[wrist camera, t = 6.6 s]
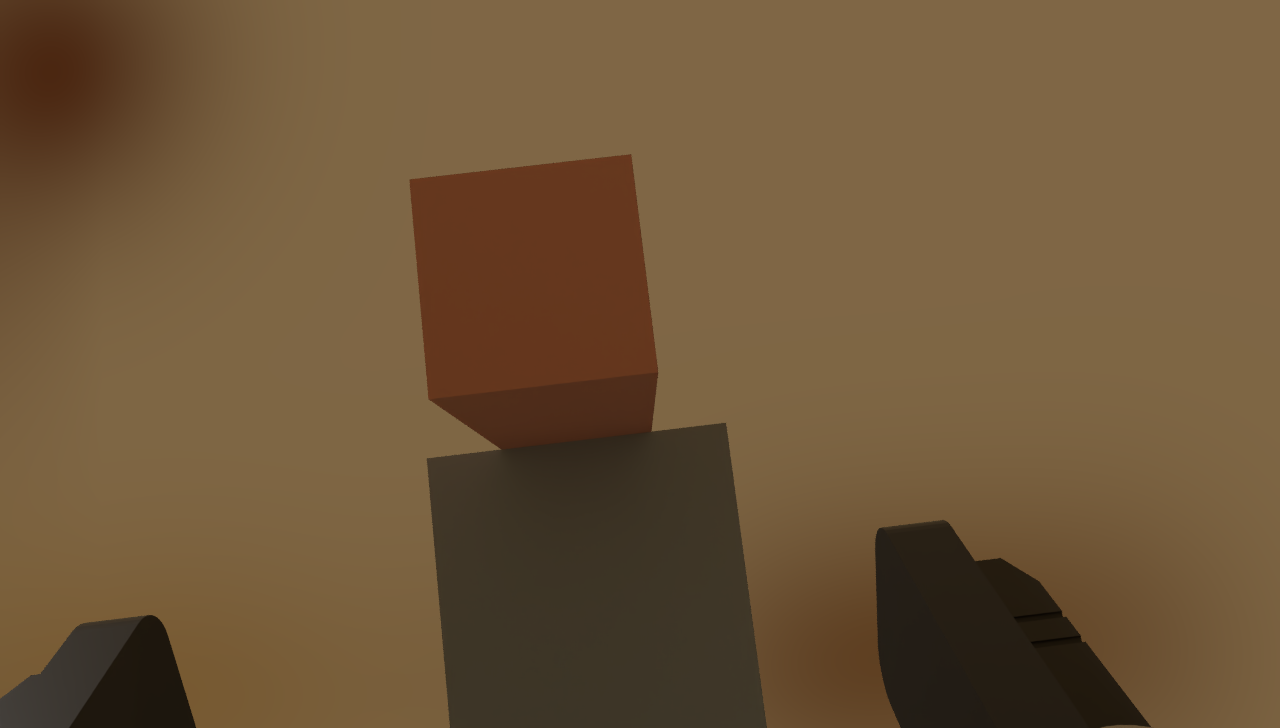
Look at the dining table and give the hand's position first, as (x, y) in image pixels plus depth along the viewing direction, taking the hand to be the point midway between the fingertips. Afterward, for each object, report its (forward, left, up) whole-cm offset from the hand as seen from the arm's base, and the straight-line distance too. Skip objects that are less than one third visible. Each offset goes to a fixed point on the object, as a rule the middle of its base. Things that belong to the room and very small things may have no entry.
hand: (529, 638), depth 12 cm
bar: (+14, +12, +4) cm, 19 cm away
